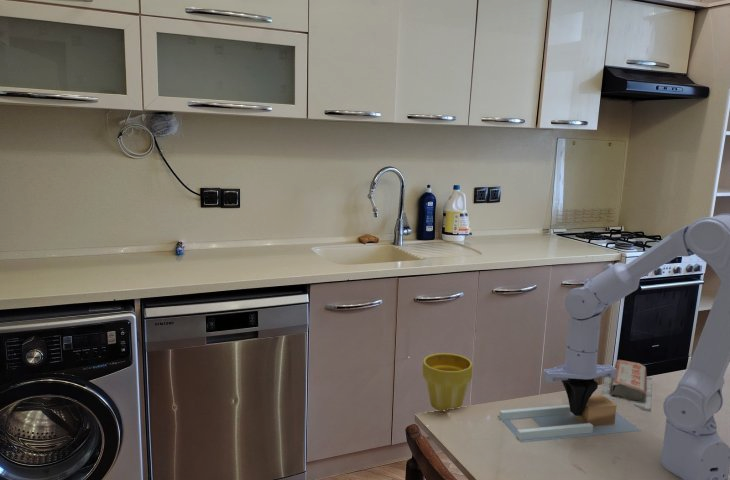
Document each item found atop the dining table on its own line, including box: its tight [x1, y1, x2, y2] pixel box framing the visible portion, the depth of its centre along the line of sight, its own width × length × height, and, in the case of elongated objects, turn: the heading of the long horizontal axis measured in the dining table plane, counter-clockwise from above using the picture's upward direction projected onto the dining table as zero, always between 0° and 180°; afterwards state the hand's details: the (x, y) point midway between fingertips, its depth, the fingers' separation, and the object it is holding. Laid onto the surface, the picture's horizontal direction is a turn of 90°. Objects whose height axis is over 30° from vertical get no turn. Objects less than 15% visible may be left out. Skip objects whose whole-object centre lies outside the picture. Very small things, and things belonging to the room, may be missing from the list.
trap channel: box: [497, 404, 642, 443], centre depth 106 cm, size 10×25×2 cm, turn 102°
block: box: [574, 394, 617, 426], centre depth 107 cm, size 4×6×4 cm
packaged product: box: [600, 359, 653, 412], centre depth 123 cm, size 18×5×10 cm
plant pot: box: [422, 352, 474, 413], centre depth 113 cm, size 10×10×10 cm
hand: (576, 413), depth 106 cm, fingers closed
